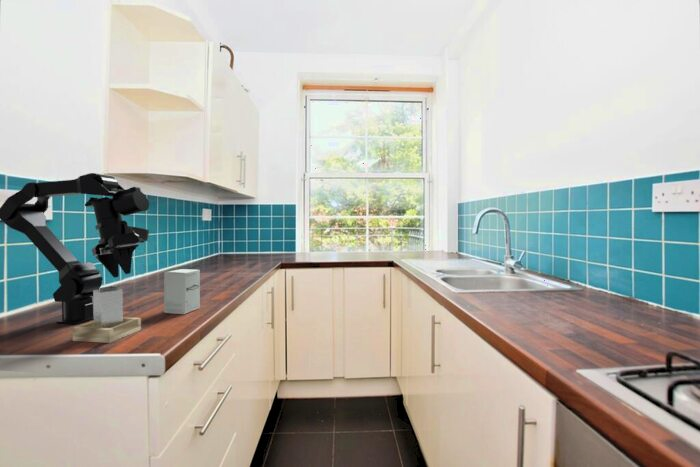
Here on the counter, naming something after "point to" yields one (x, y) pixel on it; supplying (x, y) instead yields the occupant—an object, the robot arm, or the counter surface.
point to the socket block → (108, 307)
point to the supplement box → (181, 291)
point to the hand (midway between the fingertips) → (122, 275)
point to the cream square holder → (106, 331)
